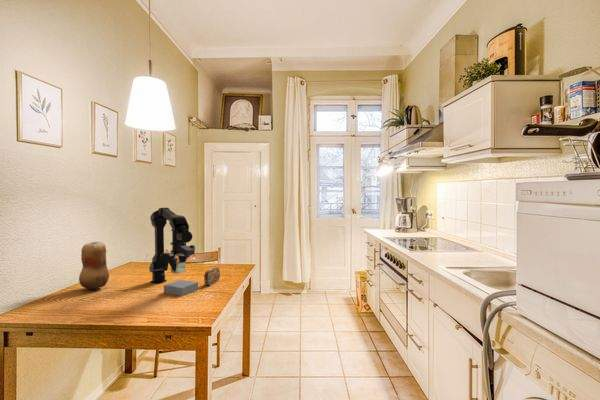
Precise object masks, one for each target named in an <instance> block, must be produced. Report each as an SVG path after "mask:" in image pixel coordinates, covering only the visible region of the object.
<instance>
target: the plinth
mask: <svg viewBox="0 0 600 400" xmlns="http://www.w3.org/2000/svg"><path fill="white" fill-rule="evenodd" d="M198 290H199V282H198V281H193V280H186V279H179V280H176V281H172V282H169V283H167V284H164V285H163V293H164V294H168V295H174V296H179V297H183V296H186V295H188V294H191V293H193V292H196V291H198Z"/></svg>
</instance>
